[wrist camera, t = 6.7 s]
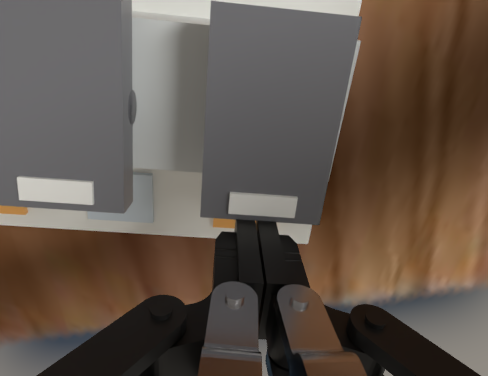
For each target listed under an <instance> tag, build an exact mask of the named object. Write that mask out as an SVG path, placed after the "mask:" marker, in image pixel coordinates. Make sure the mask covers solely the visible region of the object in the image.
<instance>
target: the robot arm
mask: <svg viewBox="0 0 488 376" xmlns="http://www.w3.org/2000/svg"><path fill="white" fill-rule="evenodd" d="M258 339H266V340H267V352H266V360H265V361H266V367H267V372H268V376H384V375H383V373H384V371H385V369H386V370H387V371H388V372H390V373H391V374H392V375H393V376H480V375H479V374H477V373H476V372H474V371H473V370H472V369H470V368H469V367H467V366H466V365H464V364H463V363H461V362H460V361H459V360H457V359H455V358H454V357H453V356H451V355H450V354H448V353H447V352H445V351H444V350H442V349H441V348H439V347H438V346H436V345H435V344H433V343H432V342H431V341H429V340H428V339H426V338H424V337H423V336H422V335H420V334H419V333H417V332H416V331H414V330H413V329H412V328H410V327H409V326H407V325H406V324H404V323H403V322H401V321H400V320H398V319H397V318H395V317H394V316H392V315H391V314H389V313H388V312H387V311H385V310H383V309H381V308H379V307H377V306H373V305H368V304H362V305H358V306H356V307H354V308H353V309H352V311H351V313H350V314H349V313H345V312H342V311H339V310H335V309H332V308H330V307H328V306H326V305H324V304H323V302H322V300H321V298H320V296H319V295H318V294H317V293H316V292H315V291H314V290H312V289H310V286H309V282H308V279H307V276H306V273H305V269H304V266H303V263H302V259H301V256H300V254H299V250H298V246H297V243H296V242H295V241H294V240H293V239H292V238H291V237H290V236H289V235H279V232H278V228H277V224H276V222H274V221H259V220H257V221H256V223H255V220H242V219H236V221H235V230H234V232H224V231H222V232H221V233H220V234H219V235H218V237H217V238H216V242H215V255H214V268H213V286H212V292H211V294H210V295H209V296H208V297H207V298H205V299H204V300H202V301H200V302H197V303H194V304H189V305H184V303H183V302H182V301H181V300H180V299H178V298H176V297H174V296H170V295H157V296H153V297H150V298H148V299H146V300H145V301H143V302H142V303H140V304H139V305H137V306H136V307H135V308H133V309H132V310H130V311H129V312H127V313H126V314H124V315H123V316H122V317H120V318H119V319H117V320H116V321H114V322H113V323H112V324H110V325H109V326H107V327H106V328H104V329H103V330H102V331H100V332H99V333H97V334H96V335H94V336H93V337H91V338H90V339H89V340H87V341H86V342H84V343H83V344H81V345H80V346H79V347H77V348H76V349H74V350H73V351H71V352H70V353H69V354H67V355H66V356H64V357H63V358H61V359H60V360H58V361H57V362H56V363H54V364H53V365H51V366H50V367H49V368H47V369H46V370H44V371H43V372H42V373H40V374H38V375H37V376H262V356H261V352H259V350H258Z"/></svg>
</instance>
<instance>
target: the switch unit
mask: <svg viewBox="0 0 488 376" xmlns="http://www.w3.org/2000/svg"><path fill="white" fill-rule="evenodd" d="M211 1H219V2H228V3H238V4H247V5H256V6H266V7H275V8H284V9H294V10H303V11H312V12H321V13H331V14H340V15H349V16H359V11H360V7H361V2H362V0H132V90H134V92H135V95H136V102H137V111H136V118H135V122H134V124H133V202H132V204H131V205H130V206H129V208H128V209H127V211H126V212H125V213H124V214H122V213H107V212H92V211H77V210H61V209H46V208H31V207H16V206H1V205H0V225H9V226H25V227H41V228H57V229H73V230H89V231H105V232H121V233H137V234H153V235H169V236H185V237H201V238H217V237H218V235H219V234H220V233H221V232H222V231H224V232H234V230H235V221H236V220H234V219H219V218H204V217H200V210H201V190H202V170H203V150H204V130H205V110H206V90H207V70H208V50H209V30H210V9H211ZM360 43H361V41H360V40H357V44H356V49H355V53H354V58H353V63H352V68H351V73H350V78H349V83H348V87H347V92H346V97H345V102H344V107H343V112H342V117H341V121H340V126H339V131H338V136H337V141H336V146H335V151H336V147H337V142H338V138H339V134H340V129H341V125H342V121H343V116H344V112H345V108H346V103H347V99H348V95H349V90H350V86H351V82H352V77H353V73H354V69H355V64H356V60H357V56H358V51H359V47H360ZM335 151H334V155H335ZM334 155H333V160H334ZM333 160H332V164H333ZM331 168H332V165H331ZM330 173H331V170H330ZM329 177H330V175H329ZM328 181H329V180H328ZM255 223H256V221H255ZM276 224H277V228H278V232H279V235H289V236H290V237H291V238H292V239H293V240H294V241H295V242H296V243H297V244H308V242H309V237H310V233H311V228H312V225H310V224H295V223H279V222H276Z"/></svg>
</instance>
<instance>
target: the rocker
mask: <svg viewBox="0 0 488 376" xmlns="http://www.w3.org/2000/svg"><path fill="white" fill-rule="evenodd" d="M361 19H362V17H359V16H349V15H340V14H331V13H321V12H312V11H303V10H294V9H284V8H275V7H266V6H256V5H247V4H238V3H228V2H219V1H211V9H210V30H209V50H208V70H207V90H206V110H205V130H204V150H203V170H202V190H201V210H200V217H204V218H219V219H234V220H236V219H242V220H255V221H257V220H259V221H274V222H279V223H295V224H310V225H319V223H320V219H321V214H322V209H323V204H324V199H325V194H326V189H327V185H328V180H329V175H330V170H331V165H332V160H333V155H334V151H335V146H336V141H337V136H338V131H339V126H340V121H341V117H342V112H343V107H344V102H345V97H346V92H347V87H348V83H349V78H350V73H351V68H352V63H353V58H354V53H355V49H356V44H357V39H358V34H359V29H360V24H361Z"/></svg>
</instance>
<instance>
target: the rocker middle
mask: <svg viewBox="0 0 488 376" xmlns="http://www.w3.org/2000/svg"><path fill="white" fill-rule="evenodd" d="M136 111H137V102H136V95H135V92H134V90H132V0H0V205H1V206H16V207H31V208H46V209H61V210H77V211H92V212H107V213H122V214H124V213H125V212H126V211H127V209H128V208H129V206H130V205H131V204H132V202H133V124H134V122H135V118H136Z"/></svg>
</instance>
